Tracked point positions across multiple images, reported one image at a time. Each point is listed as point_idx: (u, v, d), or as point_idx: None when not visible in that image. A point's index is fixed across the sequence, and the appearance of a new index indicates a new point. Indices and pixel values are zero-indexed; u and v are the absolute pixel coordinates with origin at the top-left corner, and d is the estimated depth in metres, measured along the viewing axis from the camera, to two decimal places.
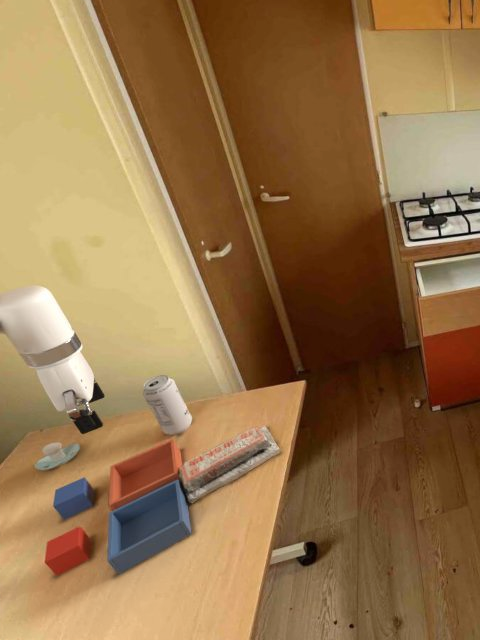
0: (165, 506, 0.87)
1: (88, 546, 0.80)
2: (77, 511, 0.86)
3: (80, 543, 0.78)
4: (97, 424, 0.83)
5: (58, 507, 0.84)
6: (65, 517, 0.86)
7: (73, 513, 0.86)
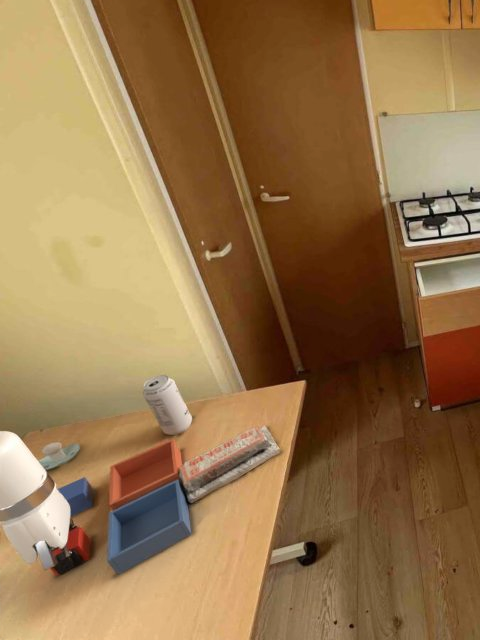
0: (165, 506, 0.87)
1: (88, 546, 0.80)
2: (77, 511, 0.86)
3: (80, 543, 0.78)
4: (77, 562, 0.77)
5: None
6: None
7: (73, 513, 0.86)
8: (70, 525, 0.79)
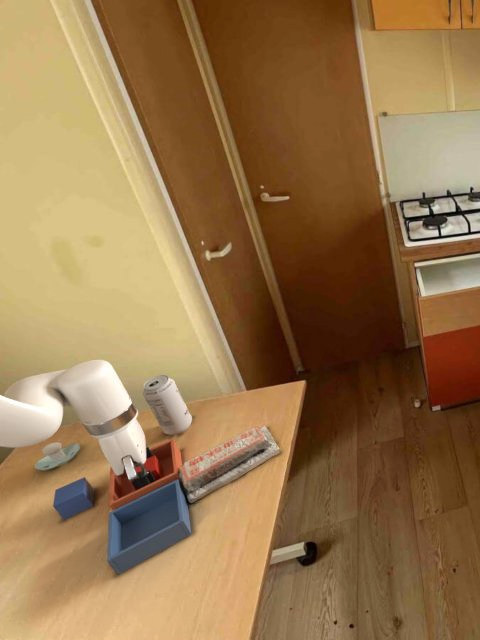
0: (165, 506, 0.87)
1: (162, 472, 0.93)
2: (77, 511, 0.86)
3: (157, 468, 0.91)
4: (151, 482, 0.89)
5: (58, 507, 0.84)
6: (65, 517, 0.86)
7: (73, 513, 0.86)
8: None
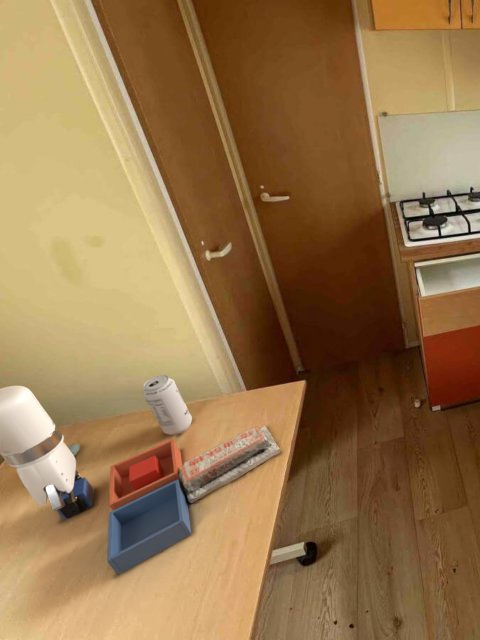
0: (165, 506, 0.87)
1: (162, 472, 0.93)
2: None
3: (157, 468, 0.91)
4: (82, 508, 0.86)
5: None
6: (65, 517, 0.86)
7: None
8: (75, 476, 0.88)
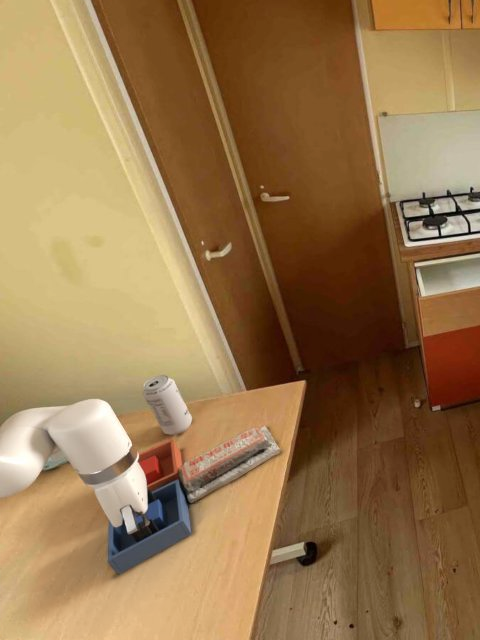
0: (165, 506, 0.87)
1: (162, 472, 0.93)
2: None
3: (157, 468, 0.91)
4: (153, 532, 0.80)
5: None
6: None
7: None
8: None
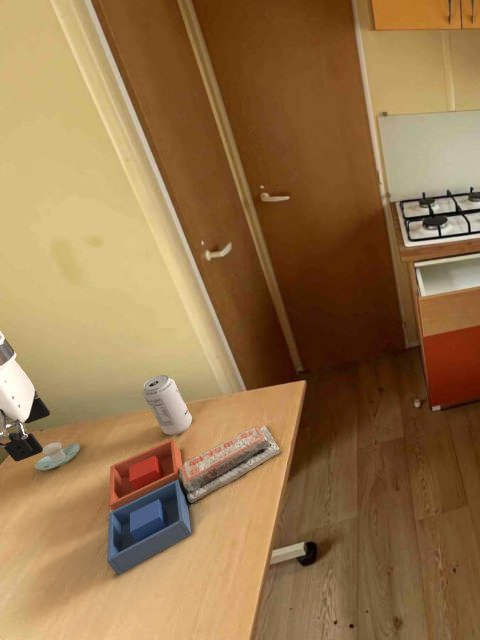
0: (165, 506, 0.87)
1: (162, 472, 0.93)
2: None
3: (157, 468, 0.91)
4: (35, 449, 0.69)
5: (135, 532, 0.79)
6: None
7: None
8: None
